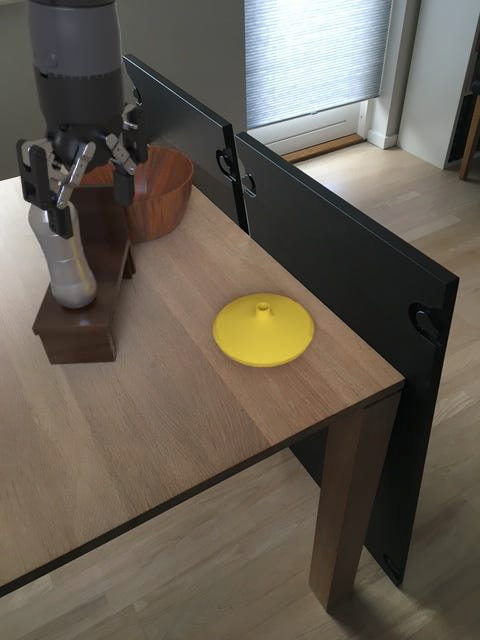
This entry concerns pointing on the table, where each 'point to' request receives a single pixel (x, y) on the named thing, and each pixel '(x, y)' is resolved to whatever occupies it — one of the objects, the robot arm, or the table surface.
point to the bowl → (153, 192)
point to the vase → (263, 330)
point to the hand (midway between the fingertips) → (95, 219)
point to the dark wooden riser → (108, 269)
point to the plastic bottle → (64, 260)
